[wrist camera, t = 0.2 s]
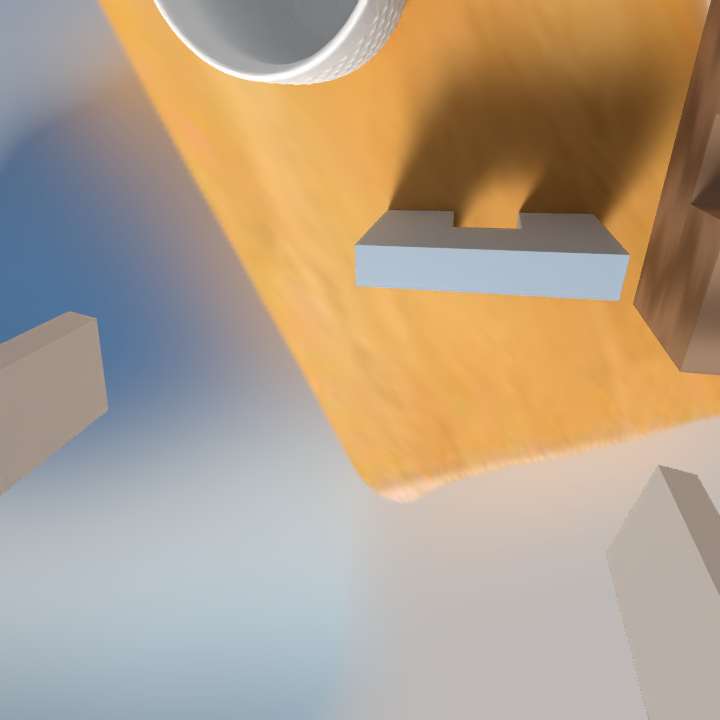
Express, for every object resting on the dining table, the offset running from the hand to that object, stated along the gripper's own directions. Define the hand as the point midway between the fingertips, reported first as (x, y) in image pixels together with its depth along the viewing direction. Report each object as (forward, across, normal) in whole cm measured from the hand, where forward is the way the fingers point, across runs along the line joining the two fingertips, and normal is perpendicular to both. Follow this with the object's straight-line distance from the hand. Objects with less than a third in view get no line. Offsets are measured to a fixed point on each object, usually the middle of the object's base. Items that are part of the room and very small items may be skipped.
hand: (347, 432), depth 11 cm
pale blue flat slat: (+27, +3, 0) cm, 27 cm away
